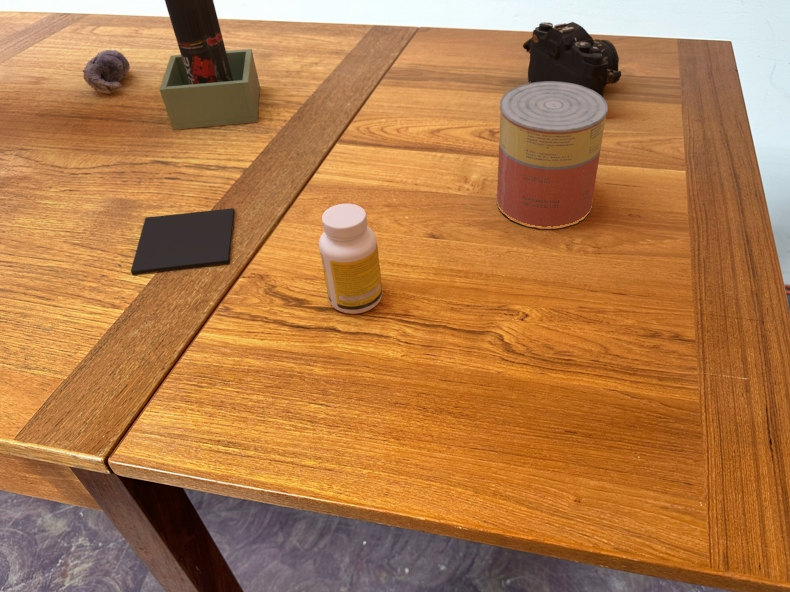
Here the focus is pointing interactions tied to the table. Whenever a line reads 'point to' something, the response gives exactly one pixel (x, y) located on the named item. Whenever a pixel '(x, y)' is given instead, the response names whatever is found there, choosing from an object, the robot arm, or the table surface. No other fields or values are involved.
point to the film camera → (571, 57)
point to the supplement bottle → (350, 259)
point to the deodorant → (199, 40)
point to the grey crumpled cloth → (106, 71)
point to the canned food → (549, 151)
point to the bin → (212, 94)
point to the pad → (184, 241)
